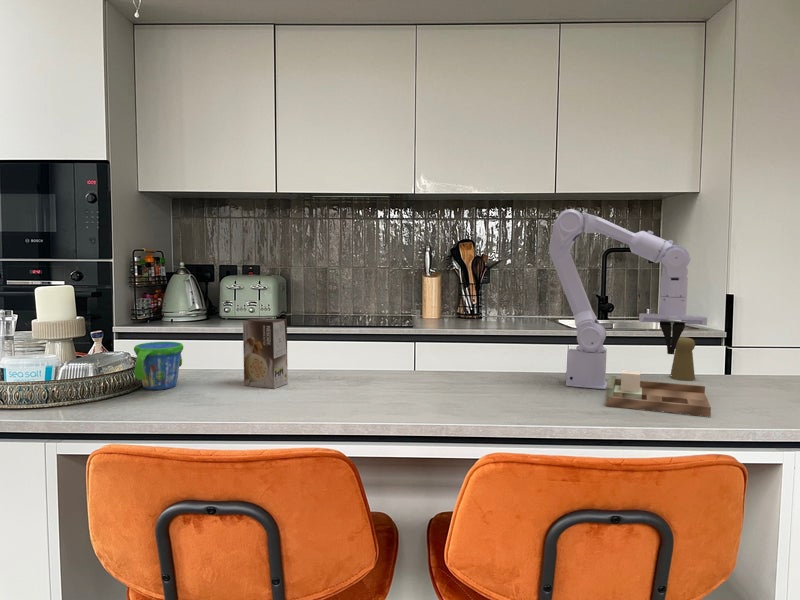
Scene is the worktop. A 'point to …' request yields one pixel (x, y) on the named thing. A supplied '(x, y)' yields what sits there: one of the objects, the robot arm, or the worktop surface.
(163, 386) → the snack cup
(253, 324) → the coffee box
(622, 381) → the cream block
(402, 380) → the worktop surface
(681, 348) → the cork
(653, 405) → the trap deck
